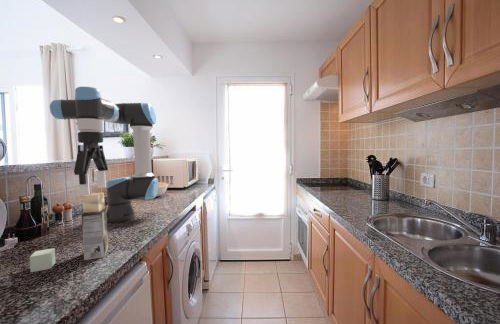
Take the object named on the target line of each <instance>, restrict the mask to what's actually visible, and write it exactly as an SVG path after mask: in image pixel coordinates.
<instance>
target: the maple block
mask: <svg viewBox="0 0 500 324" xmlns="http://www.w3.org/2000/svg"><path fill="white" fill-rule="evenodd" d="M81 198H82V214H83V213H87V212H99V211H101V210H103V209H105V208H106V207H105V205H106V204H105V193H104V192H90V193H89V194H82V196H81Z"/></svg>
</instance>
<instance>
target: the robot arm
mask: <svg viewBox="0 0 500 324" xmlns="http://www.w3.org/2000/svg"><path fill="white" fill-rule="evenodd" d="M49 112H50V113H51V115H52V116H53V118H55V119H56V120H76V122H75V125H76V126H77V127H76V128H77V131H78V132H77V141H78V143H80V144H78V145H77V154H76V159H75V165H74V170H73V173H74V176H78V185H79V186H78V187H79V188H78V189H79V195H86V194H89V193H91V192H90V175H89V173H88V171H89V168H90V165H91V162H92V160H93V163H94V165H95V167H96V169H97V170H96V178H97V183H96V184H97V188H98V189H101V188H103V189H104V188H106V196H107V207H106V216H107V223H120V222H121V223H122V222H126V221H130V220H133V219H135V218H136V212H135V210H134V208H133V205H132V201H135V200H139V201H140V200H153V199H155V198H156V197H157V194H158V192H159V186H160V183H159V179H158V178H156V176H155V175H156V174H154V173H153V172H152V171H153V169H152V150H151V145H152V144H151V130H152V129H153V126H154V125H155V124H156V123H157V115H156V112H155V109H154V107H153V105H152V104H151V103H148V102H130V103H129V102H126V103H125V102H123V103H114V102H112V101H110V100H108V99H105V98H102V95H101V91H100V89H98V88H95V87H92V86H78V87H76V88H75V90H74V99H54V100H52V101H51V102H50V104H49ZM103 122H107V123H110V124H117V125H129V128H130V129H131V130H132V131H133V132H132V133H133V157H134V174H133V175H132V176H131V177H132V179H131V177H130V176H123V177H119V178H113V179H109V180H107V179H106V171H108V169H109V168H108V164H107V160H106V156H105V153H104V146H103V145H100V144H99V143H103V142H104V135H103V132H102V131H104V129H103ZM106 180H107V181H106Z"/></svg>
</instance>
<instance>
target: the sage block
mask: <svg viewBox="0 0 500 324" xmlns="http://www.w3.org/2000/svg"><path fill="white" fill-rule="evenodd" d="M55 264H56V251H55V247H53V248H47V249H46V248H45V249H41V250H35V251H34V252H33V253H32V254H31V255H30V256H29V267H30V269H29V271H30V273H35V272H40V271H45V270H50V269H52V267H53V266H54V265H55Z"/></svg>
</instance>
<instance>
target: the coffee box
mask: <svg viewBox="0 0 500 324" xmlns="http://www.w3.org/2000/svg"><path fill="white" fill-rule="evenodd" d="M106 211H107V207H105V209H103V210H101V211H99V212H87V213H83V212H82V214H81V226H82V243H83V244H82V245H83V261H87V260H88V261H90V260H94V259H96V260H97V259H100V258H105V256H106V254H107V252H108V250H109V238H108V237H109V235H108V222H107V216H106Z"/></svg>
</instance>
